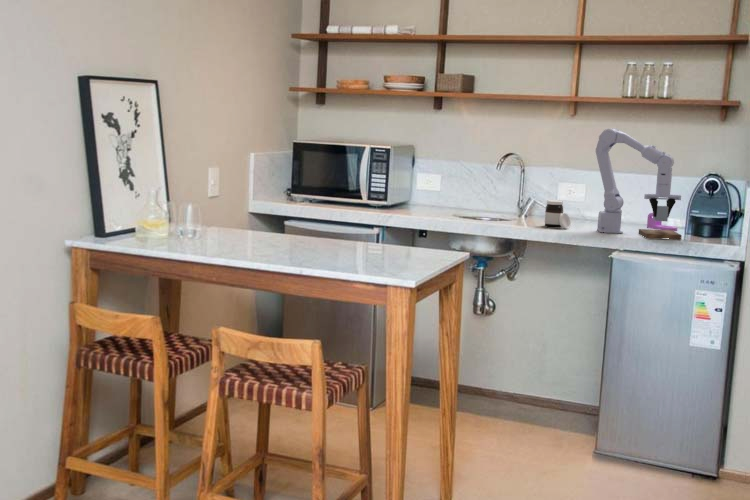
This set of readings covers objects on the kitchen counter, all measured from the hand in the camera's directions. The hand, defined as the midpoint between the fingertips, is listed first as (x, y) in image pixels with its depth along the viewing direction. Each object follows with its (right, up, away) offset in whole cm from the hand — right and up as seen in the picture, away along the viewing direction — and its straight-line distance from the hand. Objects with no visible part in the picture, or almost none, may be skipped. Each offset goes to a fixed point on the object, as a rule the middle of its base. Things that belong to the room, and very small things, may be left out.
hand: (660, 216), depth 354 cm
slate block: (0, -2, +1) cm, 2 cm away
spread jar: (-39, -4, +21) cm, 44 cm away
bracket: (+9, -5, +25) cm, 27 cm away
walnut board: (0, -8, +1) cm, 8 cm away
